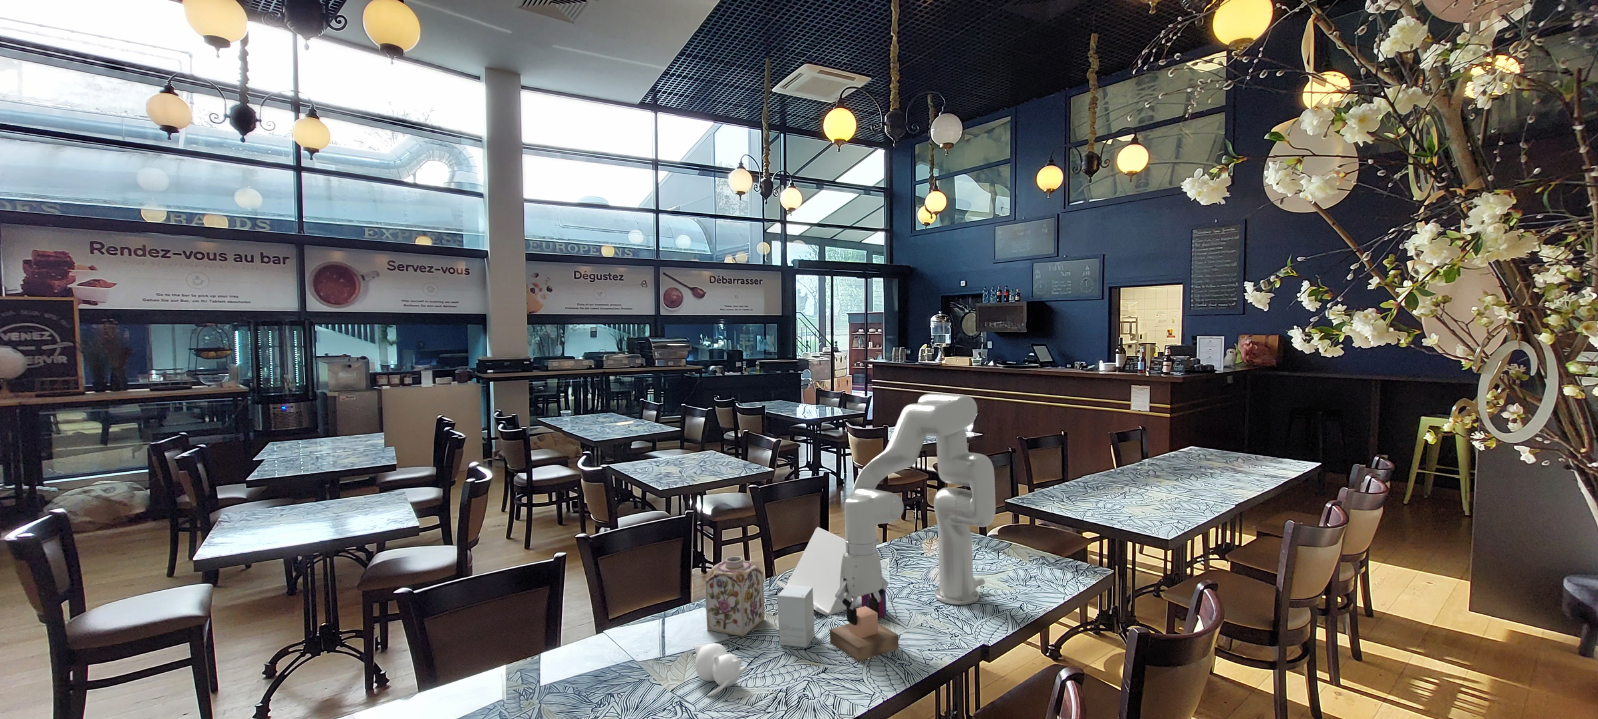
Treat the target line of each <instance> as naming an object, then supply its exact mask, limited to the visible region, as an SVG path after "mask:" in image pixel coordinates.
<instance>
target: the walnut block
mask: <svg viewBox="0 0 1598 719" xmlns="http://www.w3.org/2000/svg"><path fill="white" fill-rule="evenodd" d="M829 643H830V644H831V645H833V647H835V646H836V647H835V648H837V649H838V648H839V649H838V650H840V651H841V650H842V651H841V652H843V653H844V652H845V653H844V654H846V655H847V654H848V655H847V656H849V655H850V656H851V657H852V658H851V657H850V656H849V657H850V658H851V659H853V658H854V659H855V660H854V659H853V660H854V661H856V660H857V661H858V662H857V661H856V662H857V663H861V662H864V661H867V660H869V659H868V658H870V659H873V658H875V657H874V656H876V657H879V656H882V655H885V654H887V653H890V652H893V651H896V650H899V634H898V633H896V632H894V631H893V630H891V629H889V628H887V627H886V626H884V625H882V624H880V623H879V622H878V633H877V634H874V635H870V636H867V637H864V638H860V637H859V636H857V635H856V634H854V633H852V632H851V631H850V627H849V623H846V624H843V625H839V626H836V627H833V628H831V629H829ZM881 654H882V655H881ZM878 655H879V656H878ZM872 657H873V658H872ZM866 659H867V660H866ZM863 660H864V661H863ZM860 661H861V662H860Z"/></svg>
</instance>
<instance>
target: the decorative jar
mask: <svg viewBox="0 0 1598 719" xmlns="http://www.w3.org/2000/svg"><path fill="white" fill-rule="evenodd" d="M763 573H764V572H763V571H762V570H761V569H760V567H759V566H758V565H757V564H755V563H754V562H753V561H751V560H744V558H743V557H742V556H740V555H739V556H737V555H735V556H733V555H732V556H729V557H727V558H725V560H724V561H721V562H719V563H717V564H715V565H714V566H712V567H711V569H710V571H709V573H708V575H707V576H706V579H705V609H706V610H705V611H706V612H705V613H706V615H705V616H706V630H707V631H710V632H715V633H722V634H725V635H726V634H727V635H731V636H737V637H745V636H746V635H748V633H750V632H751V631H752V630H754V628H755V627H757V626H758V625H759V624H761V623H762V622H763V621H764V620H765V595H764V594H765V591H764V574H763Z"/></svg>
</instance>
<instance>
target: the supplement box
mask: <svg viewBox="0 0 1598 719" xmlns="http://www.w3.org/2000/svg"><path fill="white" fill-rule="evenodd" d="M786 585H787V584H786ZM776 597H777V611H778V612H777V613H778V615H777V616H778V634H779V635H778V636H779V645H780V646H781V645H782V646H789V647H797V648H798V647H799V648H807V647H808V646H809V644H810V643H811V642H812V640H813V639H814V637H815V635H816V633H815V611H814V610H815V609H814V605H813V587H804V586H792V585H787V586H786V587H785V588H783V589H782V590H781V591H780V592H779V593H778V594H777V596H776Z"/></svg>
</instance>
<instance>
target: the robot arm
mask: <svg viewBox="0 0 1598 719" xmlns="http://www.w3.org/2000/svg"><path fill="white" fill-rule="evenodd" d="M977 415H978V404H977V403H976V401H975V399H974V398H973V397H972V396H970V395H968V394H967V395H966V394H952V393H936V392H935V393H933V392H932V393H925V394H922V395H921V396H920V397H919V398H918V400H917V403H910V404H907V405H905V406H904V407H903V409H902V410H901V412H900V415H899V417H898V419H897V421H896V424H895V426H894V429H893V430H892V433H891V436H890V439H889V441H888V443H887V445H886V448H885V449H884V450H883V451H882V452H881V453H879V454H878V455H876V456H875V457H874V458H873V459H871V460H870V461H869V462H868V463H867V464H866V465H865V466H864V467H863V468H862V470H861V471H860V472H859V474H858V475H857V477H856V480H855V482H854V485H853V486H852V490H851V492H850V496H849V497H847V498H846V499H845V501H844V528H845V529H844V530H845V531H844V535H845V538H844V539H845V540H846V553H844V554H843V557H842V562H841V572H840V588H839V590H838V591H837V593H836V594H835V597H836V598H837V599H838V600H839V601H841V602H842V603H843V604H844V605H845V606H846V610H845V611H846V619H847V623H848V624H849V623H851V624H853V625H857V610H856V609H857V608H856V609H855V608H854V607H855V604H856V600H857V597H859V596H863V595H866V594H870V597H871V598H870V599H869V608H870V609H871V610H873V611H875V612H877V613H878V619H880V618H879V602H880V601H881V596H882V595H883V593H884V590H885V589H887V588H888V586H889V582H888V581H887V580H886V579H885V578H884V576H883V571H882V563H881V557H880V553H879V551H878V550H877V546H878V545H879V544H880V540H879V538H877V525H881V524H890V523H894V522H896V521H898V519H899V518H900V517H902V515H903V513H904V508H905V506H904V502H903V500H902V498H901V497H900V496H899V495H897V494H896V493H893V492H891V491H884V490H880V489H876V488H877V486H878V484H879V483H881V481H882V480H883V479H885V478H886V477H888V476H889V475H892V474H894V473H897V472H899V471H903V470H906V469H908V468H911V467H913V466H914V465H915V464H917V463H916V462H917V460H918V458H919V455H920V452H921V450H922V447H923V445H924V442H925V440H926V438H927V437H935V439H936V440H935V441H936V454H937V456H936V458H937V474H938V477H939V479H940V480H941V481H942V482H944V483H947V484H951V485H957V486H962V487H970V490H968V489H964V488H958V487H952V486H951V487H950V486H949V487H943V488H941V489H939V490H938V491H937V492H936V494H935V496H934V498H933V508H934V513H935V518H936V524H937V534H938V535H937V536H938V537H937V539H938V568H939V569H938V570H939V573H938V575H939V586H938V587H937V588H935V590H934V598H936V600H938V601H940V602H942V603H945V604H948V605H954V606H955V605H957V606H963V605H965V606H966V605H970V604H971V605H972V604H974V603H976V602H978V601H979V600H980V593H979V591H977V588H978V587H980V586H984V585H985V584H986V581H985V579H984V578H983V577H981V578H976V579H975V578H974V567H973V566H974V564H973V536H972V532H971V530H970V527H969V526H973V527H980V528H985V527H989V526H990V525H991V524H992V523H993V521H994V520H995V517H996V516H995V515H996V487H995V486H996V485H995V484H996V482H995V470H994V468H995V467H994V465H993V462H992V460H991V459H990V458H989V456H987V455H986V454H982V453H978V452H977V453H976V452H970V451H969V450H968V440H967V439H968V438H967V432H966V430H965V428H967V427H969V426H971V424H972V423H974V421H975V420H976V418H977ZM845 593H847V595H846V598H845V597H844V594H845ZM850 600H851V602H850Z"/></svg>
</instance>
